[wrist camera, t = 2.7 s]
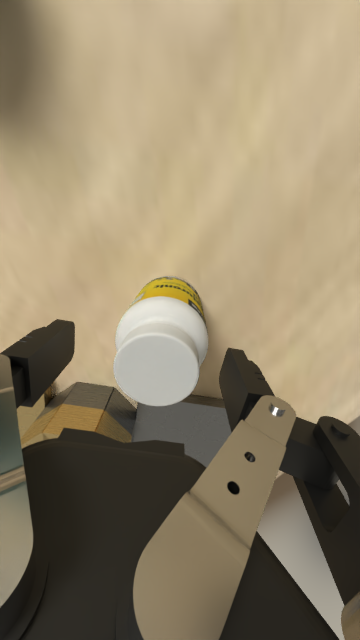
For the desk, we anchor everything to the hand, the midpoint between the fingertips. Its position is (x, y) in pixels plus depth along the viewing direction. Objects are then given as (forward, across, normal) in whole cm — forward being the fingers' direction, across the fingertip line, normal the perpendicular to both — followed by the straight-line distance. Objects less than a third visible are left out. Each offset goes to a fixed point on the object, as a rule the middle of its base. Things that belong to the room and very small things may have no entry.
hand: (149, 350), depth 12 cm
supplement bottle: (+8, -1, 0) cm, 8 cm away
